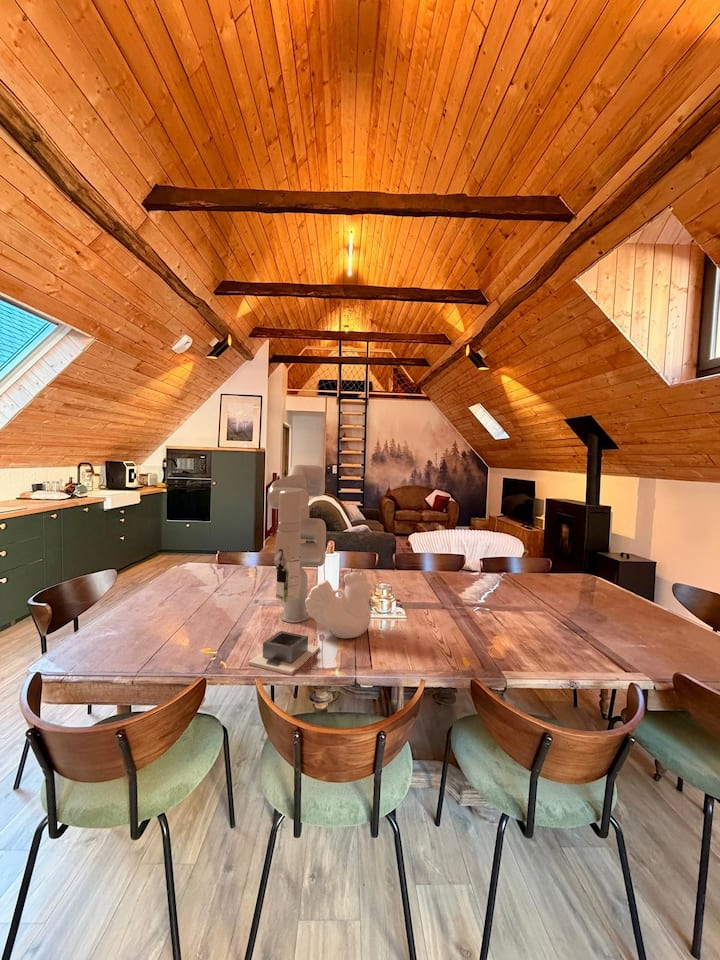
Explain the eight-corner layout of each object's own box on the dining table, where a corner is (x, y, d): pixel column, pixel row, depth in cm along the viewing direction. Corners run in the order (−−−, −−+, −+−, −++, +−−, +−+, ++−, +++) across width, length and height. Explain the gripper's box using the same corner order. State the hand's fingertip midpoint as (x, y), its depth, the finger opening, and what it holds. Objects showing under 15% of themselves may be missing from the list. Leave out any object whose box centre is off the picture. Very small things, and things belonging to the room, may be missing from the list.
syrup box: (275, 598, 148) (276, 556, 147) (289, 594, 152) (290, 553, 151) (284, 602, 144) (286, 559, 143) (299, 599, 148) (300, 556, 147)
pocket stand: (280, 641, 161) (281, 625, 161) (319, 649, 156) (320, 633, 155) (248, 664, 143) (248, 646, 142) (291, 675, 137) (291, 656, 137)
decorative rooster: (372, 628, 177) (374, 567, 175) (367, 645, 161) (369, 578, 160) (312, 622, 180) (313, 563, 179) (301, 638, 165) (303, 573, 163)
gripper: (292, 522, 156) (291, 571, 157) (265, 529, 140) (263, 584, 141) (311, 524, 154) (309, 574, 155) (285, 532, 137) (284, 587, 138)
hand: (287, 578), depth 148 cm, fingers closed on syrup box, 7 cm apart
